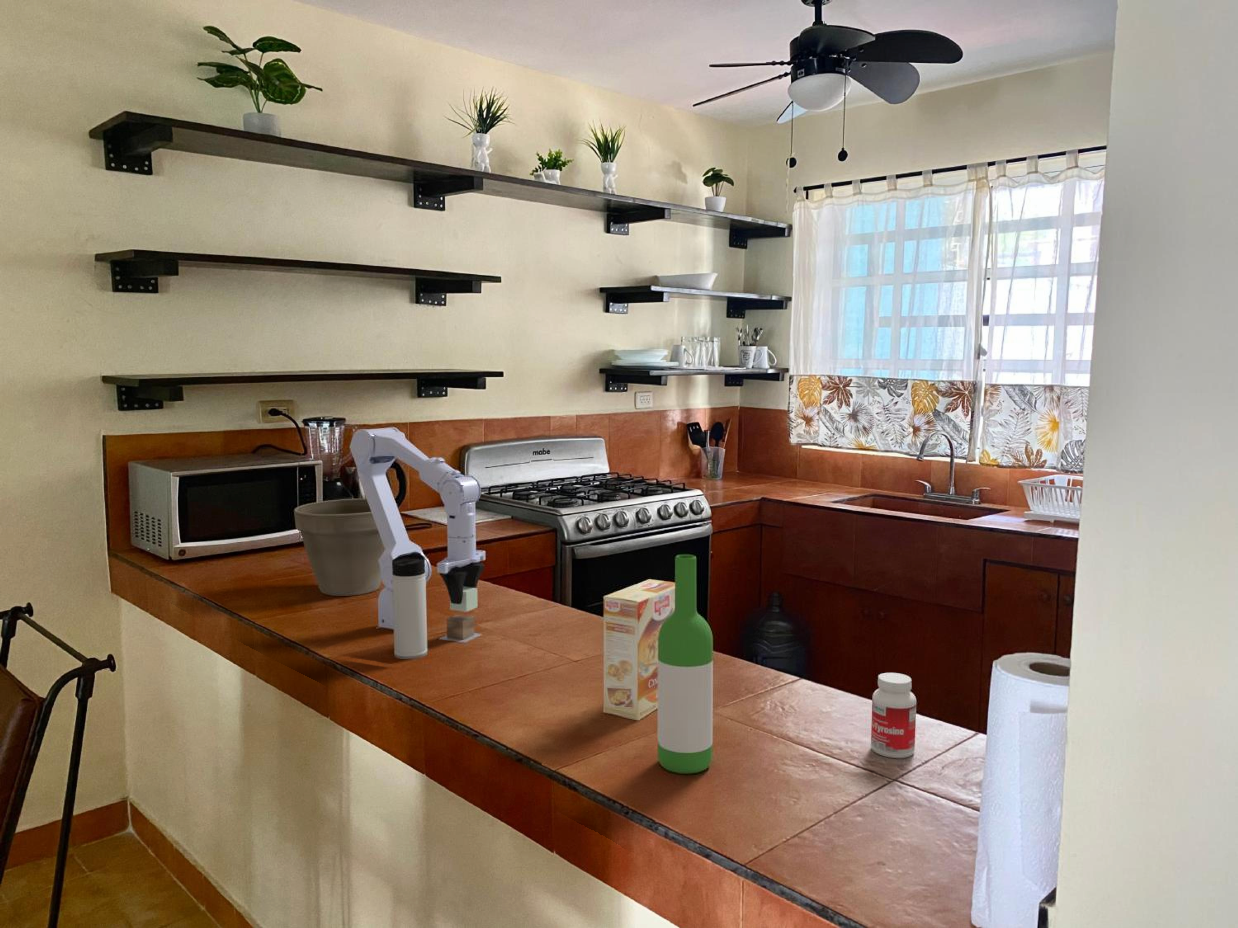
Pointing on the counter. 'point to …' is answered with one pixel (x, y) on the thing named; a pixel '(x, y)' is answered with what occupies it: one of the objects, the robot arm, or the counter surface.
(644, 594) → the coffeecake box
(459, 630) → the walnut block
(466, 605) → the green block
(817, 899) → the counter surface
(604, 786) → the counter surface
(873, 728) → the pill bottle
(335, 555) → the plant pot
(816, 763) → the counter surface
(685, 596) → the wine bottle
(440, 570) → the robot arm
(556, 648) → the counter surface
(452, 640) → the white square board
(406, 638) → the travel mug
